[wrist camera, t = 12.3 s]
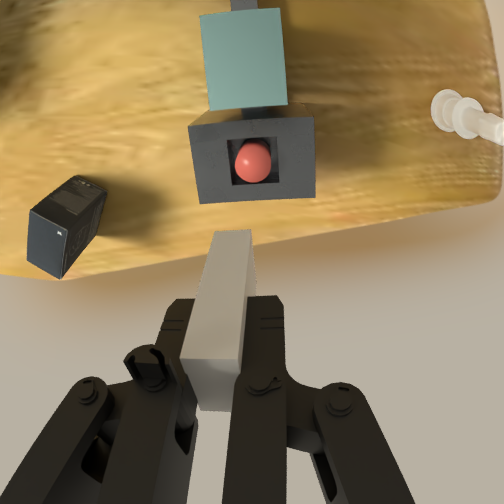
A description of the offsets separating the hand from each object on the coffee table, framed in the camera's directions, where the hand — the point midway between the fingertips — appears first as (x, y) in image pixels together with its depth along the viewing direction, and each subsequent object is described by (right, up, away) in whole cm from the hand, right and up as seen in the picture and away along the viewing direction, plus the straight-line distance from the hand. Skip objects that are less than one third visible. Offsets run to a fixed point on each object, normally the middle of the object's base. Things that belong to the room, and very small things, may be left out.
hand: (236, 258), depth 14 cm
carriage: (+1, +20, +16) cm, 26 cm away
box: (-22, +7, +26) cm, 35 cm away
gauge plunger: (+1, +9, +14) cm, 17 cm away
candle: (+24, +17, +17) cm, 34 cm away
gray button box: (+1, +13, +20) cm, 24 cm away
